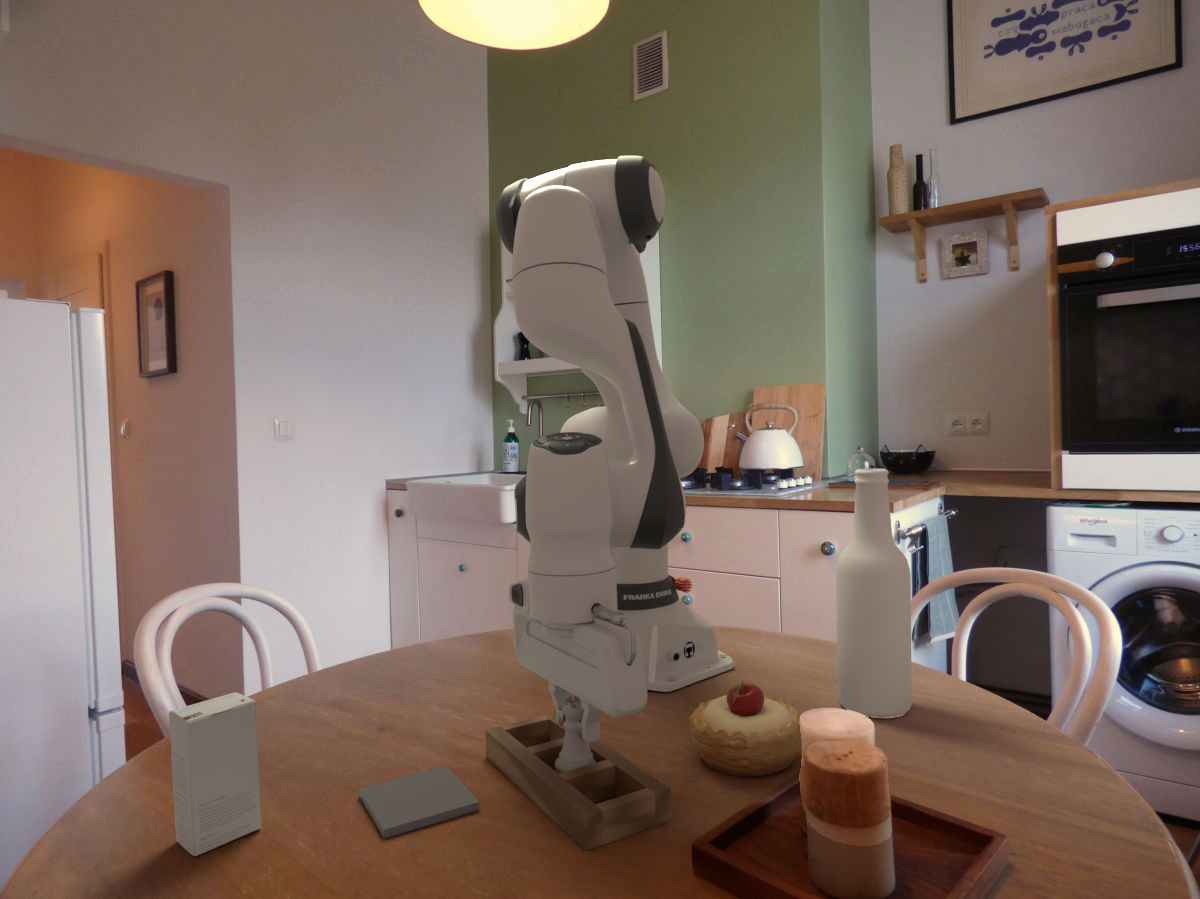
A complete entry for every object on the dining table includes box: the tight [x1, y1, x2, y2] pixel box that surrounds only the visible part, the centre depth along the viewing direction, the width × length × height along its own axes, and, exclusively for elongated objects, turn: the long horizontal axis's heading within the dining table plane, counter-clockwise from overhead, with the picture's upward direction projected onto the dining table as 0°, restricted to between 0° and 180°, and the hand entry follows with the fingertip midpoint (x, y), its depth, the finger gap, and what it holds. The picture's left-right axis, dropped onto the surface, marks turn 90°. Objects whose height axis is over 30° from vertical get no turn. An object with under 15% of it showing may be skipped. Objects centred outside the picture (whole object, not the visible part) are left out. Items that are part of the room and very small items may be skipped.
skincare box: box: [168, 691, 262, 857], centre depth 67 cm, size 6×4×12 cm
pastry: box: [688, 680, 802, 778], centre depth 81 cm, size 12×12×9 cm
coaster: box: [358, 765, 481, 839], centre depth 73 cm, size 9×9×1 cm
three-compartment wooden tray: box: [484, 712, 672, 852], centre depth 76 cm, size 9×22×3 cm, turn 31°
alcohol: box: [835, 468, 913, 719], centre depth 94 cm, size 9×9×30 cm
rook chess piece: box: [555, 696, 596, 774], centre depth 76 cm, size 4×4×8 cm
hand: (577, 731), depth 76 cm, fingers closed on rook chess piece, 3 cm apart
